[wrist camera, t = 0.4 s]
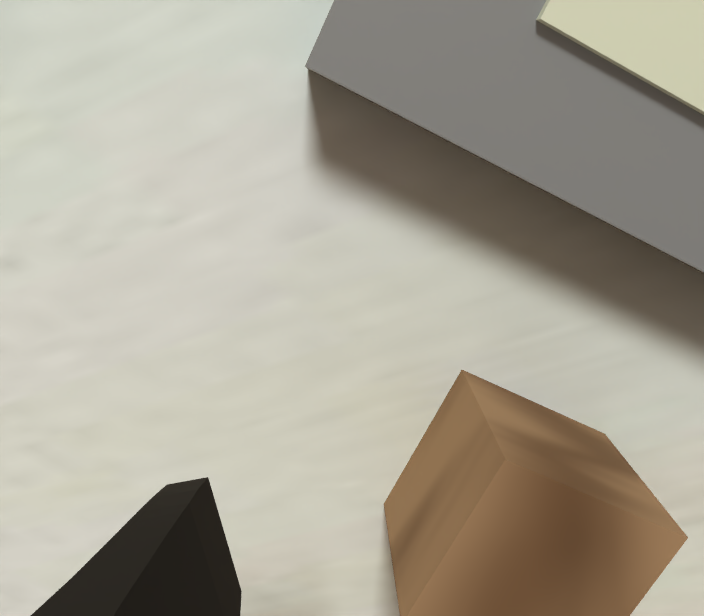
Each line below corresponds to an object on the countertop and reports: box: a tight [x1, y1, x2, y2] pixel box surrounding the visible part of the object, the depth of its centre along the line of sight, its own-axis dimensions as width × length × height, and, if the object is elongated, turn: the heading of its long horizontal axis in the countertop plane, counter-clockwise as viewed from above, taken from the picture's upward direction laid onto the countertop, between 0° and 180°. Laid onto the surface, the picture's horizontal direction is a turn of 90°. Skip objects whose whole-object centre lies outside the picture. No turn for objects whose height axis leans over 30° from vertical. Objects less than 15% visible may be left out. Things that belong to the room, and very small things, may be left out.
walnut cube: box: [384, 370, 688, 616], centre depth 18 cm, size 5×5×5 cm
